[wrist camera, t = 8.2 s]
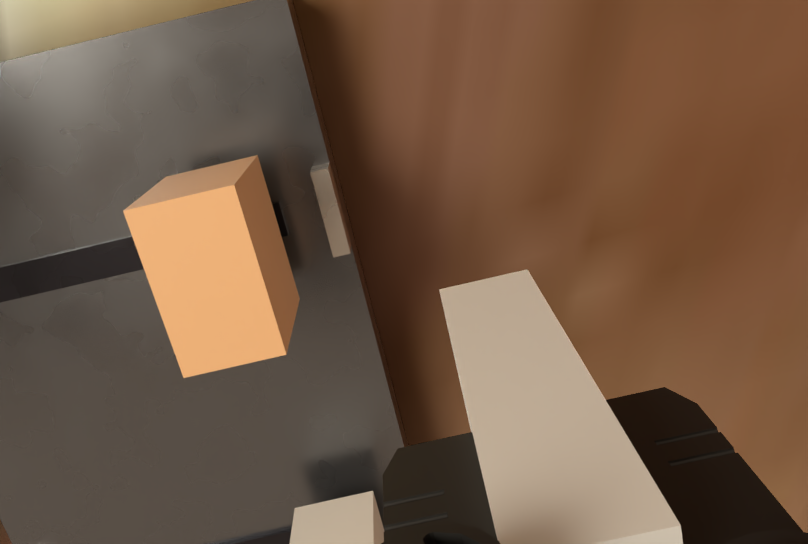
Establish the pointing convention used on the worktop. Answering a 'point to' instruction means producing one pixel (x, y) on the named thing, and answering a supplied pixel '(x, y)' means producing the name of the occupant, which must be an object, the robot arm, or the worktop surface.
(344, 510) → the block
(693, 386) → the worktop surface
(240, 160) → the block
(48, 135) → the console
